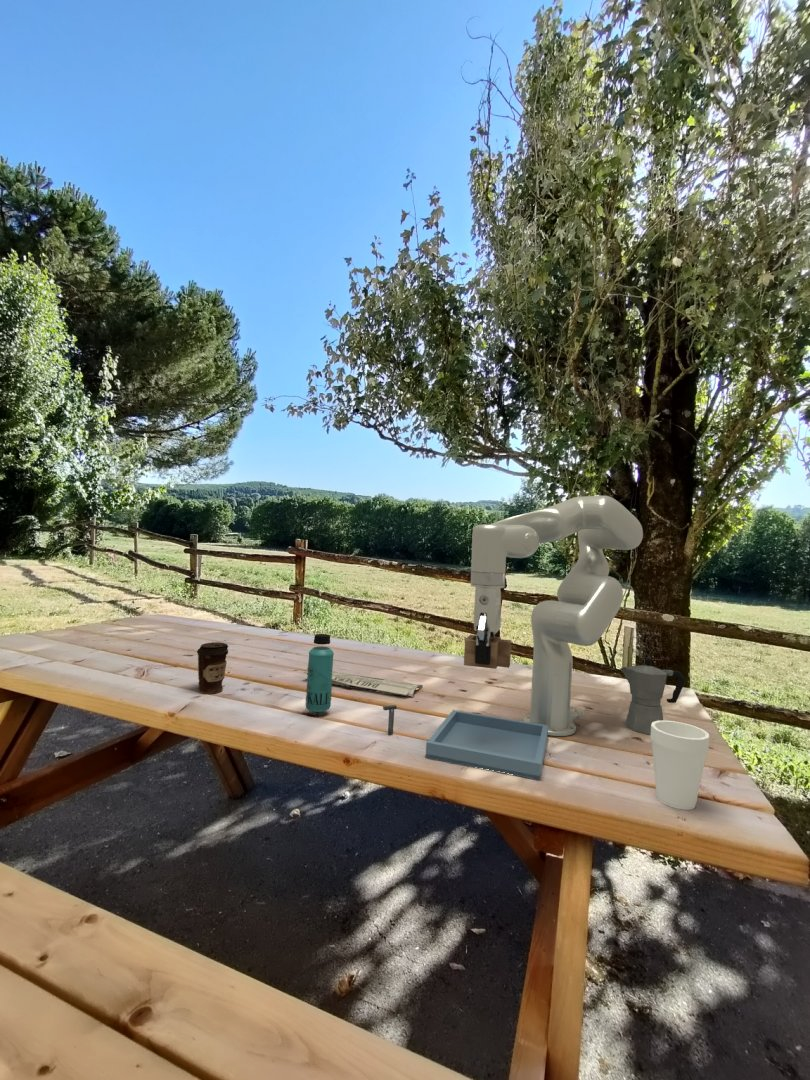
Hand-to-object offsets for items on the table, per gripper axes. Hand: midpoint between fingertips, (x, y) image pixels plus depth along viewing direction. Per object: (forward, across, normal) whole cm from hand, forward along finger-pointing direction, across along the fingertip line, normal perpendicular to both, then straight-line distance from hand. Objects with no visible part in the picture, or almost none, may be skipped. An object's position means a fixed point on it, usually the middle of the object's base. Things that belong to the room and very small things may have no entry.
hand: (485, 659), depth 114 cm
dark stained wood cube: (+1, 0, -1) cm, 1 cm away
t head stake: (+19, -2, +21) cm, 28 cm away
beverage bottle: (+19, +3, +42) cm, 46 cm away
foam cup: (+20, -10, -37) cm, 43 cm away
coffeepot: (+21, +29, -38) cm, 53 cm away
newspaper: (+20, +30, +41) cm, 55 cm away
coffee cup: (+18, +6, +76) cm, 79 cm away
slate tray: (+19, -1, -2) cm, 19 cm away
